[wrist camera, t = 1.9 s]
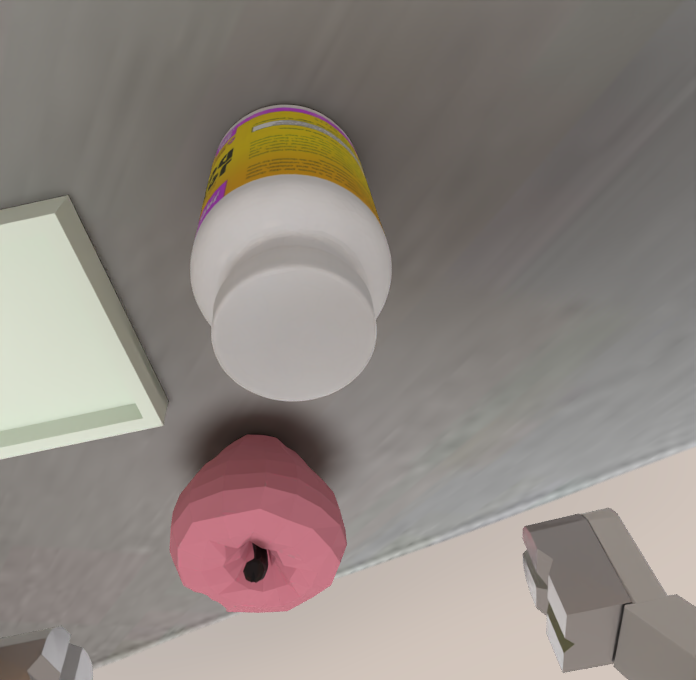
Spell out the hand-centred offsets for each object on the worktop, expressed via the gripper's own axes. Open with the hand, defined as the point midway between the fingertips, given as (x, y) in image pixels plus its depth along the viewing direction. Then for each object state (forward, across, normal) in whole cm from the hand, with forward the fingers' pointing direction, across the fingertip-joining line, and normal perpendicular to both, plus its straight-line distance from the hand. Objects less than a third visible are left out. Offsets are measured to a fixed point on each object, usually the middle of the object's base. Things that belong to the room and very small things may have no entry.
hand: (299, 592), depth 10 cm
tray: (+21, +16, +5) cm, 26 cm away
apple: (+21, +5, +17) cm, 27 cm away
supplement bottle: (+21, 0, 0) cm, 21 cm away
